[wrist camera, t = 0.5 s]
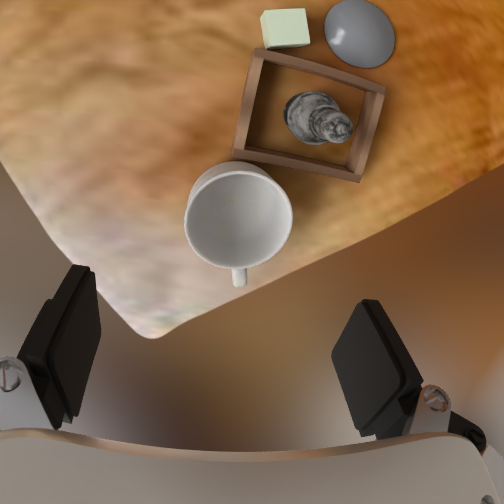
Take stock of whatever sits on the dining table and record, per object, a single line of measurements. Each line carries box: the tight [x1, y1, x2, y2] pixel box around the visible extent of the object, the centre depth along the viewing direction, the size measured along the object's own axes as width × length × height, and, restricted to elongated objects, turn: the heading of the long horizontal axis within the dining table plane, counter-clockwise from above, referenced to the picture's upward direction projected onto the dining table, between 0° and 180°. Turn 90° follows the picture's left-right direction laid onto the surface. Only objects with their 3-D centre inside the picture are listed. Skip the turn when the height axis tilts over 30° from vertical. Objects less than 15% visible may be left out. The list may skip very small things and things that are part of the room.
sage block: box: [260, 8, 310, 50], centre depth 26 cm, size 4×4×4 cm
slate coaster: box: [324, 0, 395, 68], centre depth 28 cm, size 9×9×1 cm
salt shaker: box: [284, 91, 353, 145], centre depth 28 cm, size 6×6×12 cm
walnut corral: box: [231, 48, 387, 183], centre depth 32 cm, size 12×15×3 cm
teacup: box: [184, 161, 293, 287], centre depth 35 cm, size 14×11×8 cm
